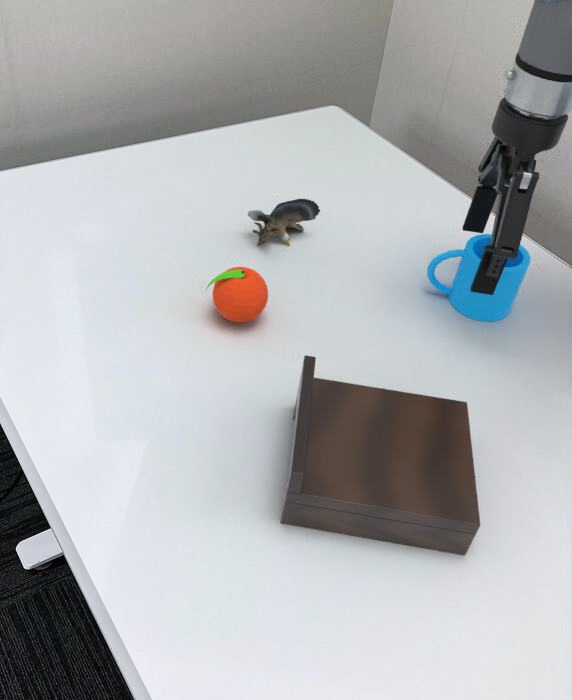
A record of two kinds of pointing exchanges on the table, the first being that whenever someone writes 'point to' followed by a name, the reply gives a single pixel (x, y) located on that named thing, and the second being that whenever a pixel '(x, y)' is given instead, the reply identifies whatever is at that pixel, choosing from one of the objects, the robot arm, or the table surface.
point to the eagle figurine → (284, 218)
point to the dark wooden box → (381, 465)
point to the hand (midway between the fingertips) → (476, 259)
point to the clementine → (239, 294)
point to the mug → (460, 292)
